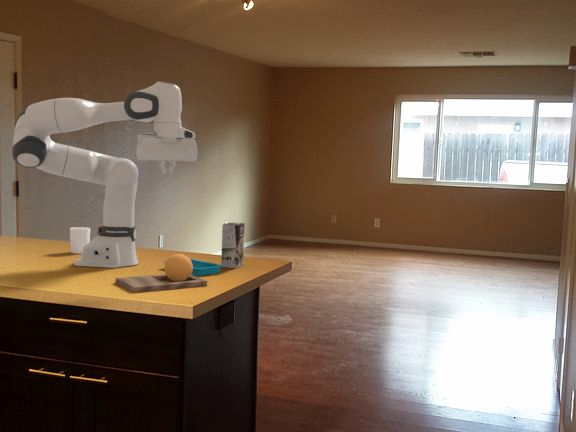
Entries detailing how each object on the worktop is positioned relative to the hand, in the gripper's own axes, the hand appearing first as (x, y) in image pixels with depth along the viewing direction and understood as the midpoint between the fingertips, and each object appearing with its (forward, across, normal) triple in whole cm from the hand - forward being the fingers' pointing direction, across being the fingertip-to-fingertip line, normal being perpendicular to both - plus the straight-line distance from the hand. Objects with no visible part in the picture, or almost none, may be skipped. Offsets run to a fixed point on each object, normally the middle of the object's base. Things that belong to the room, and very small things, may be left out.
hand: (167, 175), depth 207 cm
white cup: (+34, -10, +63) cm, 73 cm away
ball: (+30, +1, -8) cm, 31 cm away
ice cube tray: (+35, +14, +8) cm, 38 cm away
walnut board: (+34, -6, -10) cm, 36 cm away
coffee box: (+34, +31, +11) cm, 48 cm away
